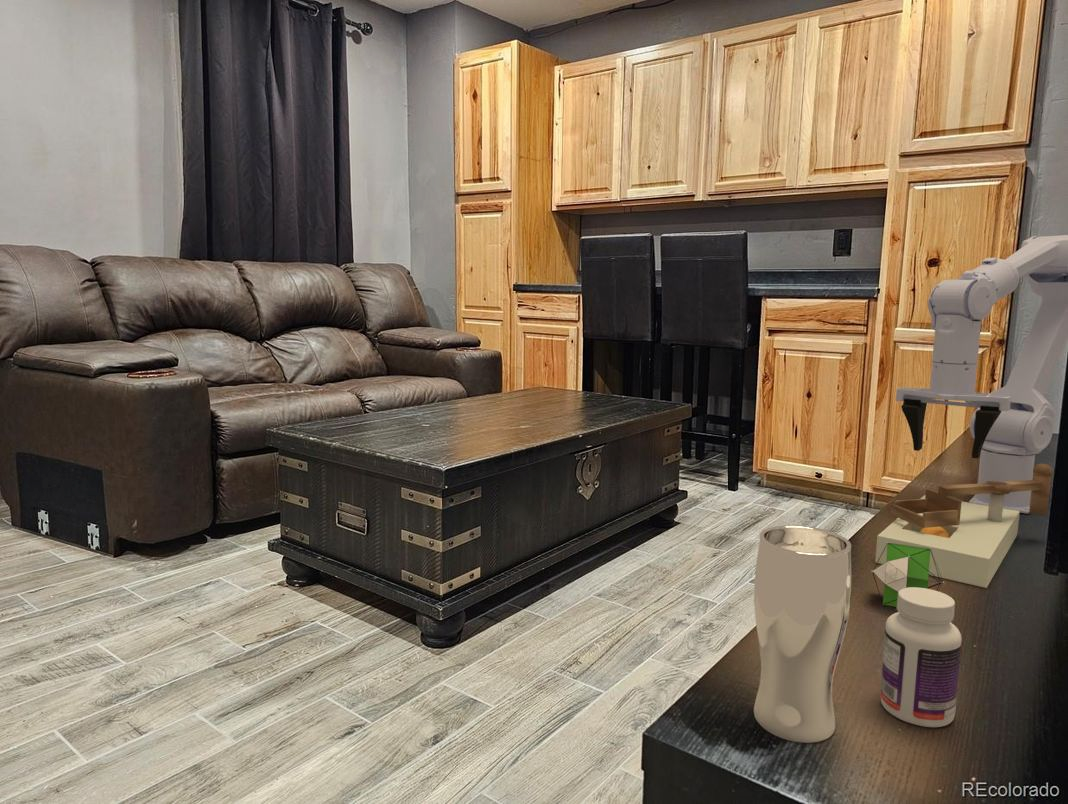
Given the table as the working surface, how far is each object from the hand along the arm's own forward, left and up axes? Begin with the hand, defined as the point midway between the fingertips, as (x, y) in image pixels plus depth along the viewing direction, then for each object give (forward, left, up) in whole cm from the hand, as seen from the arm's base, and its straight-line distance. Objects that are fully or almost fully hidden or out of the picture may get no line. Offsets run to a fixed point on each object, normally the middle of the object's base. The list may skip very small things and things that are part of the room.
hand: (946, 453), depth 107 cm
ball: (+18, +3, -8) cm, 20 cm away
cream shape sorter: (+14, +4, -10) cm, 18 cm away
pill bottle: (+58, +10, -10) cm, 60 cm away
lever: (+11, +6, -6) cm, 14 cm away
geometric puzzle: (+37, +4, -10) cm, 39 cm away
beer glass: (+66, +3, -10) cm, 67 cm away
